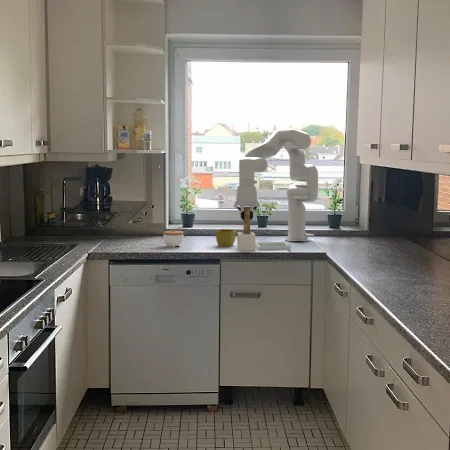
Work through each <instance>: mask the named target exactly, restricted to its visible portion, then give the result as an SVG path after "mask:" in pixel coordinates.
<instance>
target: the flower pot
mask: <svg viewBox="0 0 450 450" xmlns="http://www.w3.org/2000/svg"><path fill="white" fill-rule="evenodd" d="M236 234H237V229H223V228H221V229H219V230H216V231H215V238H216V244H217V245H218V247H227V248H230V247H232V246H234V243H235V241H236V238H237V235H236Z"/></svg>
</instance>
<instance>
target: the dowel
mask: <svg viewBox="0 0 450 450" xmlns="http://www.w3.org/2000/svg"><path fill="white" fill-rule="evenodd" d="M250 210H251V209H250V206H244V208H243V212H244V220H243V232H244V234H250V232H251V220H250Z"/></svg>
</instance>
